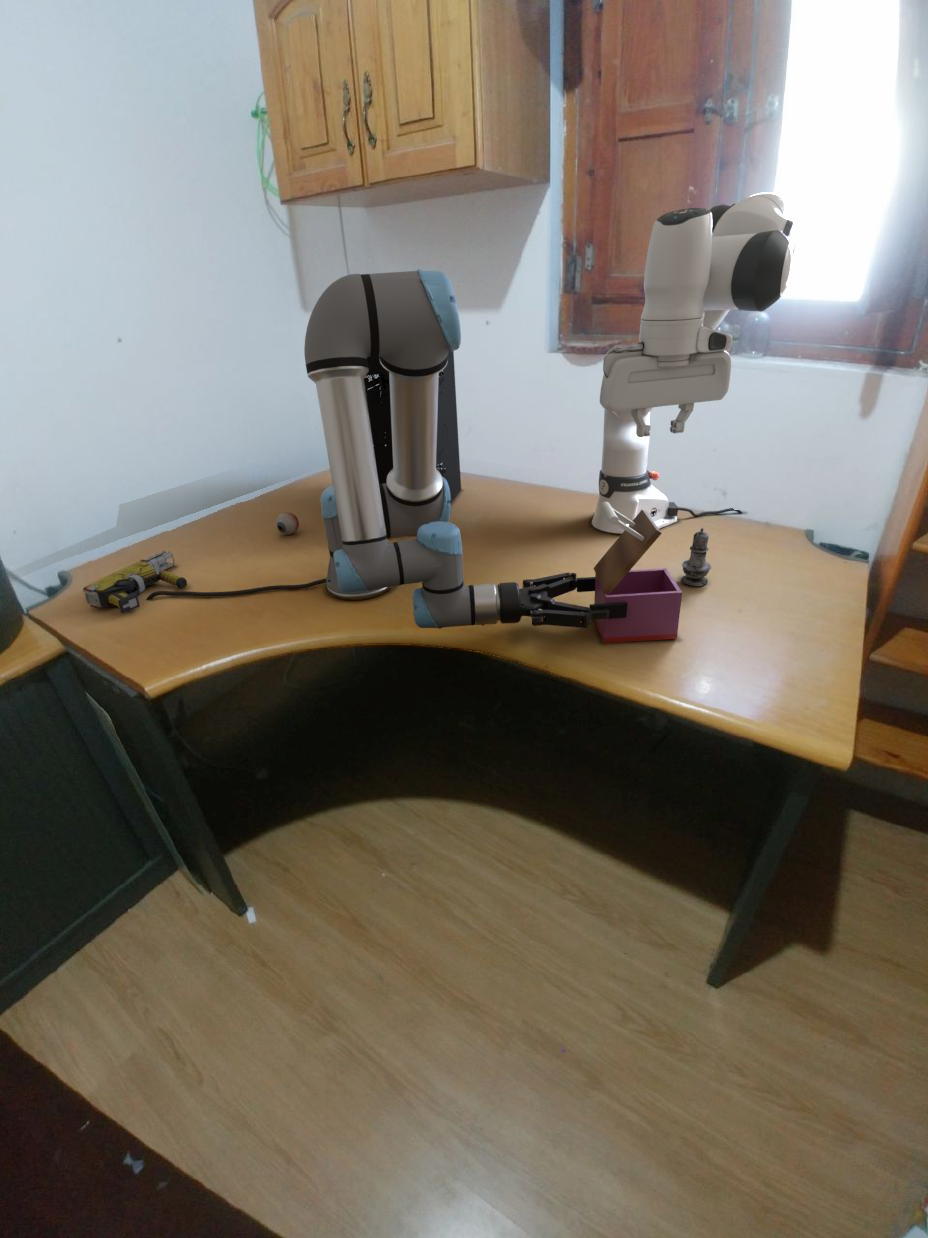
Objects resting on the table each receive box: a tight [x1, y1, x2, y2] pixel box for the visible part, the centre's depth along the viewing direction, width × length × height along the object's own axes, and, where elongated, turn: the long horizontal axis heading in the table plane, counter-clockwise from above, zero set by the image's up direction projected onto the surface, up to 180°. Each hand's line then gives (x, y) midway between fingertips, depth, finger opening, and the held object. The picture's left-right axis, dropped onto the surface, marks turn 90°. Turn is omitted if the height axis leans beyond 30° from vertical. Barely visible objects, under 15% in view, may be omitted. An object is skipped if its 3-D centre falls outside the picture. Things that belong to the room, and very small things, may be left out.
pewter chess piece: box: [681, 527, 712, 587], centre depth 126 cm, size 6×6×12 cm
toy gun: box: [82, 550, 188, 615], centre depth 138 cm, size 5×24×15 cm
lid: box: [593, 502, 663, 595], centre depth 105 cm, size 14×10×8 cm
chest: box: [593, 567, 683, 644], centre depth 112 cm, size 13×10×10 cm
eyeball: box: [275, 511, 300, 536], centre depth 163 cm, size 6×6×6 cm
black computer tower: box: [364, 351, 462, 505], centre depth 166 cm, size 38×20×45 cm, turn 167°
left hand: (618, 595), depth 111 cm, fingers closed on chest, 10 cm apart
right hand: (659, 434), depth 97 cm, fingers open, 5 cm apart
